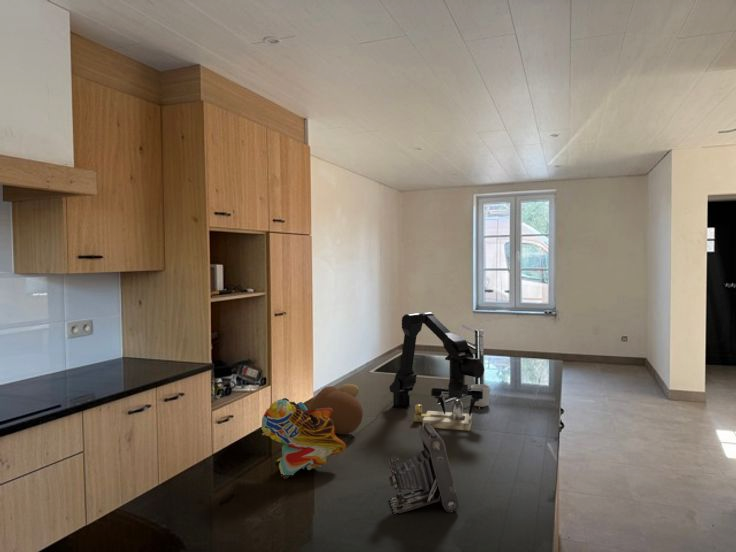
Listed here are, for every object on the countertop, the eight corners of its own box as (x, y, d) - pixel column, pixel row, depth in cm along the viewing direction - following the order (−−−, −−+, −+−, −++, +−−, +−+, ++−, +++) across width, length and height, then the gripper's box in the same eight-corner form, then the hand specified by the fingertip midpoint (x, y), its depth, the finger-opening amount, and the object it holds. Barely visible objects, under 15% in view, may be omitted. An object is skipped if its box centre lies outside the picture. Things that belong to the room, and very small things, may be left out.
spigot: (451, 425, 189) (451, 400, 188) (452, 422, 192) (452, 398, 192) (462, 426, 188) (462, 401, 187) (463, 423, 191) (463, 398, 191)
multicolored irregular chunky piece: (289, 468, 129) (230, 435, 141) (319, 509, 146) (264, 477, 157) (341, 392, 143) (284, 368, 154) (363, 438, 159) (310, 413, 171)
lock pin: (414, 421, 193) (414, 405, 193) (415, 419, 196) (415, 403, 195) (430, 422, 191) (429, 406, 191) (431, 420, 194) (431, 404, 194)
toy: (304, 441, 186) (347, 461, 175) (287, 416, 176) (332, 436, 165) (339, 391, 199) (381, 407, 188) (325, 365, 189) (369, 380, 178)
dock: (422, 426, 187) (422, 420, 187) (427, 417, 199) (427, 410, 199) (469, 430, 183) (469, 423, 183) (472, 420, 194) (472, 413, 194)
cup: (490, 410, 207) (490, 391, 207) (470, 409, 209) (470, 390, 208) (489, 403, 218) (489, 384, 217) (470, 402, 219) (470, 383, 219)
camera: (391, 511, 132) (371, 438, 131) (453, 491, 133) (434, 419, 132) (398, 534, 121) (376, 454, 120) (465, 512, 123) (444, 434, 121)
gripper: (428, 376, 184) (428, 419, 185) (481, 379, 179) (481, 423, 180) (433, 370, 195) (433, 410, 195) (483, 372, 190) (483, 414, 190)
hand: (457, 415), depth 190 cm, fingers open, 9 cm apart
